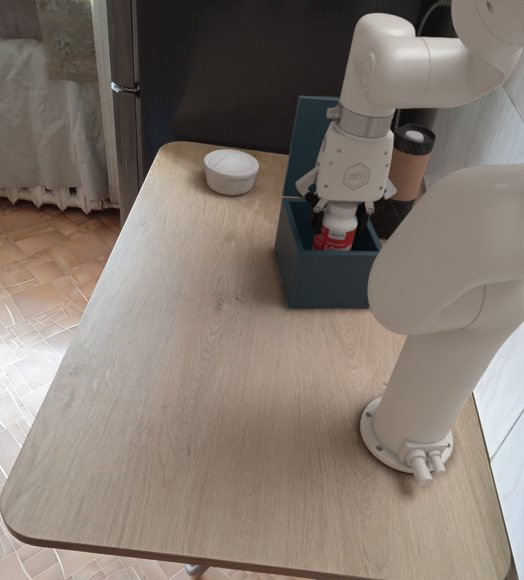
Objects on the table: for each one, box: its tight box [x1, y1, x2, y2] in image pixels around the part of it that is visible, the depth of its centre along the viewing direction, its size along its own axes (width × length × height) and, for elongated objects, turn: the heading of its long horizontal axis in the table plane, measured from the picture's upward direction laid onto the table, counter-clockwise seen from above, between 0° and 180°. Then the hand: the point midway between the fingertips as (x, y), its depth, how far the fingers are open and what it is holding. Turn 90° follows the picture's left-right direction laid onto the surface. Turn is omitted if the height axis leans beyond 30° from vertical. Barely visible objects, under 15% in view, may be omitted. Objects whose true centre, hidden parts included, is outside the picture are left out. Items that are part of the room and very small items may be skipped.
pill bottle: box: [312, 200, 358, 251], centre depth 90 cm, size 6×6×11 cm
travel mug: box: [369, 123, 437, 240], centre depth 107 cm, size 8×8×20 cm
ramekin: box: [203, 149, 260, 196], centre depth 117 cm, size 11×11×5 cm
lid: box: [281, 95, 340, 198], centre depth 92 cm, size 17×14×5 cm
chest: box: [273, 197, 383, 309], centre depth 96 cm, size 16×14×11 cm
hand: (336, 229), depth 90 cm, fingers closed on pill bottle, 6 cm apart
